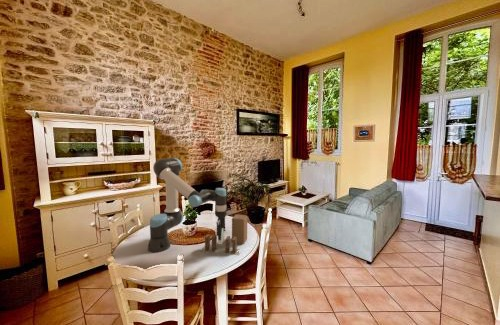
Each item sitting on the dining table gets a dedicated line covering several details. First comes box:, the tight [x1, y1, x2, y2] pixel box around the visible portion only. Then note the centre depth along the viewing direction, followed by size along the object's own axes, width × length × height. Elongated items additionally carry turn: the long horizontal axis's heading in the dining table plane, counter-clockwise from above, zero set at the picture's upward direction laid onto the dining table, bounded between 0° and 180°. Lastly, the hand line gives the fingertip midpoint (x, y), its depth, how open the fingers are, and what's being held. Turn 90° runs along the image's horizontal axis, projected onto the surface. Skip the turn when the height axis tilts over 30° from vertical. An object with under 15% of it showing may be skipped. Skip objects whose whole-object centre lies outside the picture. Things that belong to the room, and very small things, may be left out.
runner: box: [200, 245, 241, 256], centre depth 151 cm, size 28×8×1 cm, turn 81°
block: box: [231, 213, 248, 245], centre depth 165 cm, size 10×10×20 cm
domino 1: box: [204, 234, 211, 251], centre depth 152 cm, size 2×5×10 cm, turn 171°
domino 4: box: [231, 237, 238, 254], centre depth 149 cm, size 2×5×10 cm, turn 171°
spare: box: [222, 228, 225, 244], centre depth 150 cm, size 2×5×10 cm, turn 171°
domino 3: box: [224, 235, 231, 253], centre depth 150 cm, size 2×5×10 cm, turn 171°
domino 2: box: [211, 234, 218, 252], centre depth 151 cm, size 2×5×10 cm, turn 171°
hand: (221, 242), depth 150 cm, fingers closed on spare, 5 cm apart
